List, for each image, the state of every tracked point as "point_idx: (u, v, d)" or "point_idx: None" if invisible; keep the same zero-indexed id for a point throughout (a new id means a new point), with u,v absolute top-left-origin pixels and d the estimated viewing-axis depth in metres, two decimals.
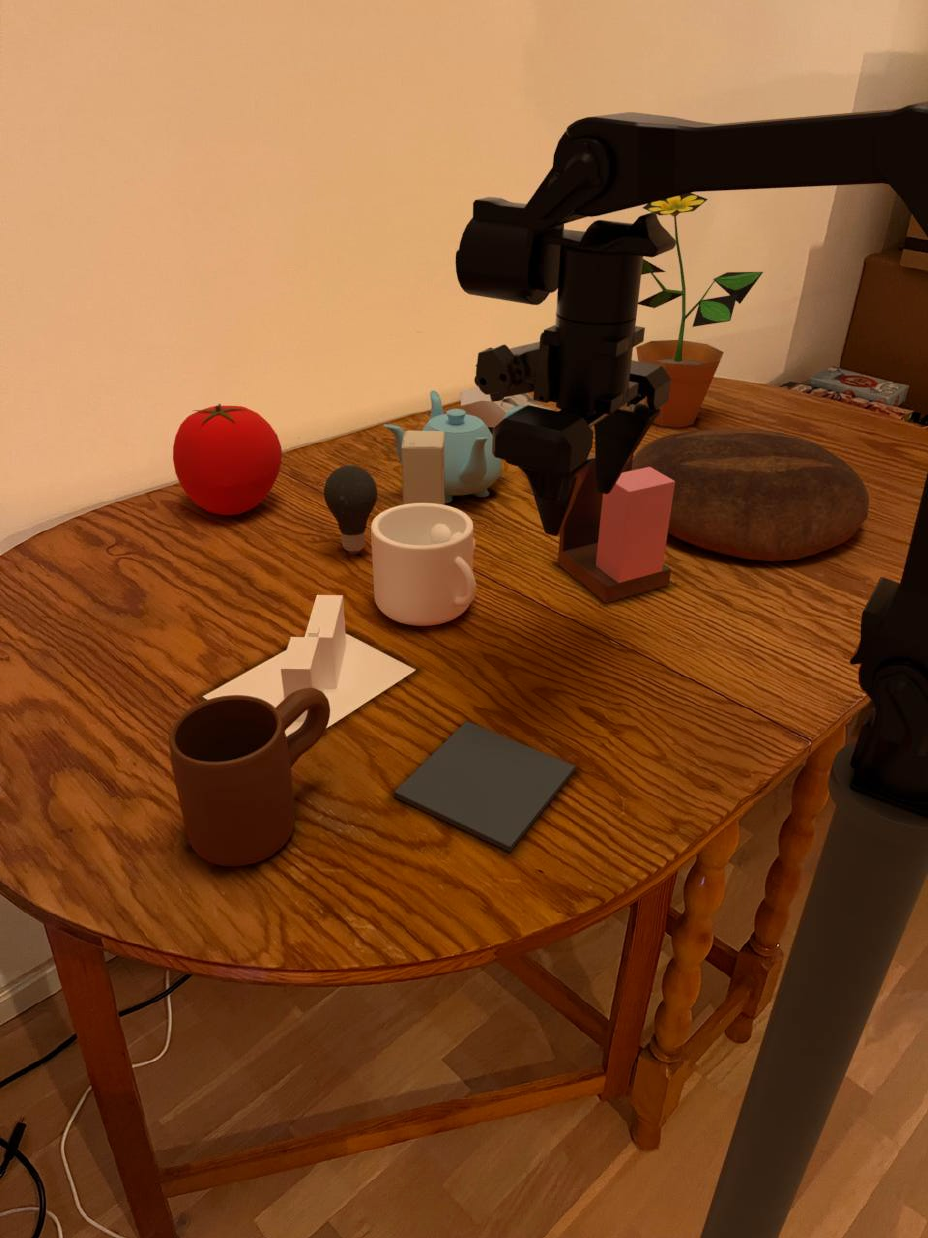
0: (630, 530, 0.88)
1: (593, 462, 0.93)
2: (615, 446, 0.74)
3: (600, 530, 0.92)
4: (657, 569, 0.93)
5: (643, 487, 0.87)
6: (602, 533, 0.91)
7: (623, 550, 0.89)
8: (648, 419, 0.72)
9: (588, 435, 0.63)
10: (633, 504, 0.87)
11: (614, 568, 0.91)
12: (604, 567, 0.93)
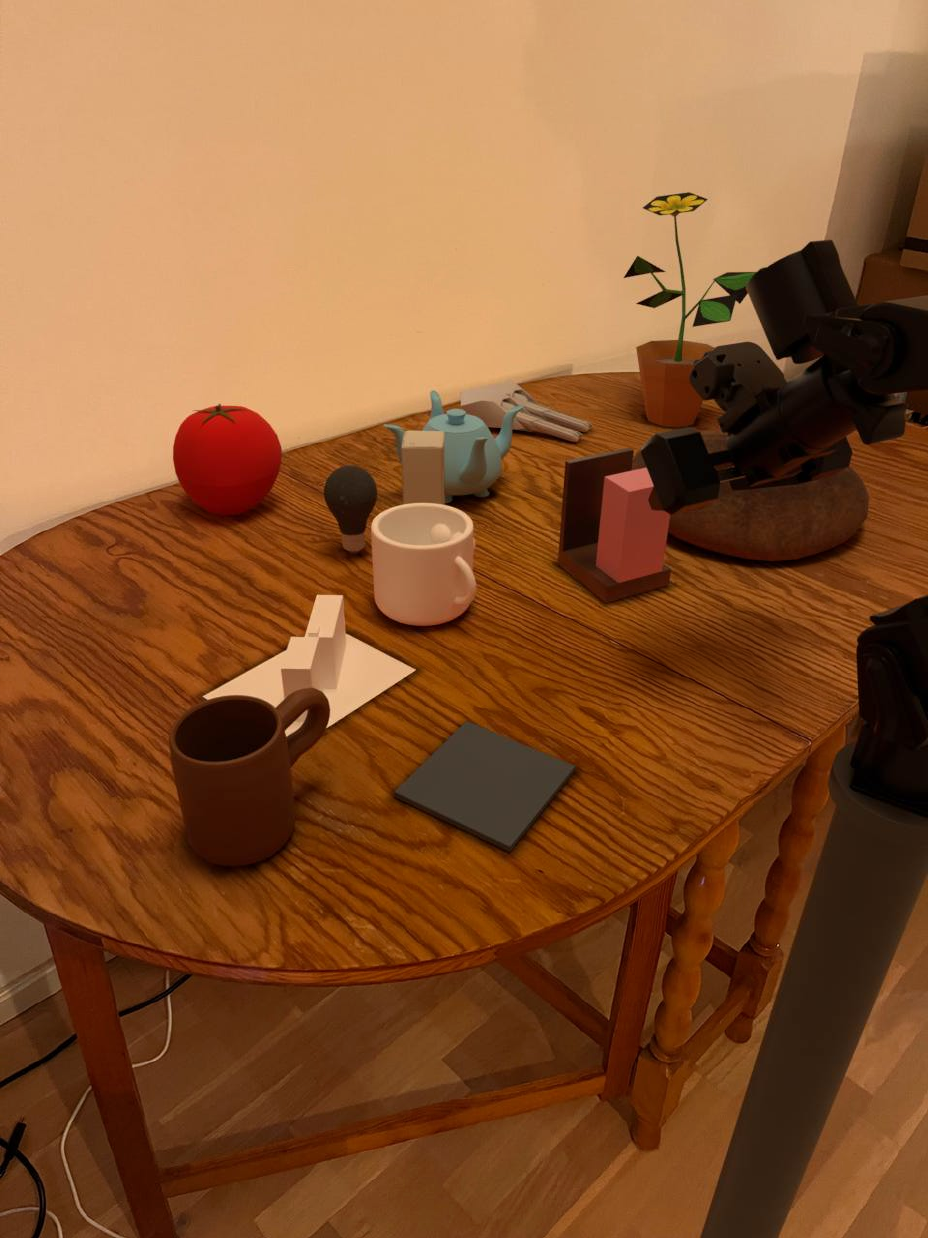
0: (630, 530, 0.88)
1: (593, 462, 0.93)
2: None
3: (600, 530, 0.92)
4: (657, 569, 0.93)
5: (643, 487, 0.87)
6: (602, 533, 0.91)
7: (623, 550, 0.89)
8: (798, 483, 0.77)
9: (710, 499, 0.71)
10: (633, 504, 0.87)
11: (614, 568, 0.91)
12: (604, 567, 0.93)
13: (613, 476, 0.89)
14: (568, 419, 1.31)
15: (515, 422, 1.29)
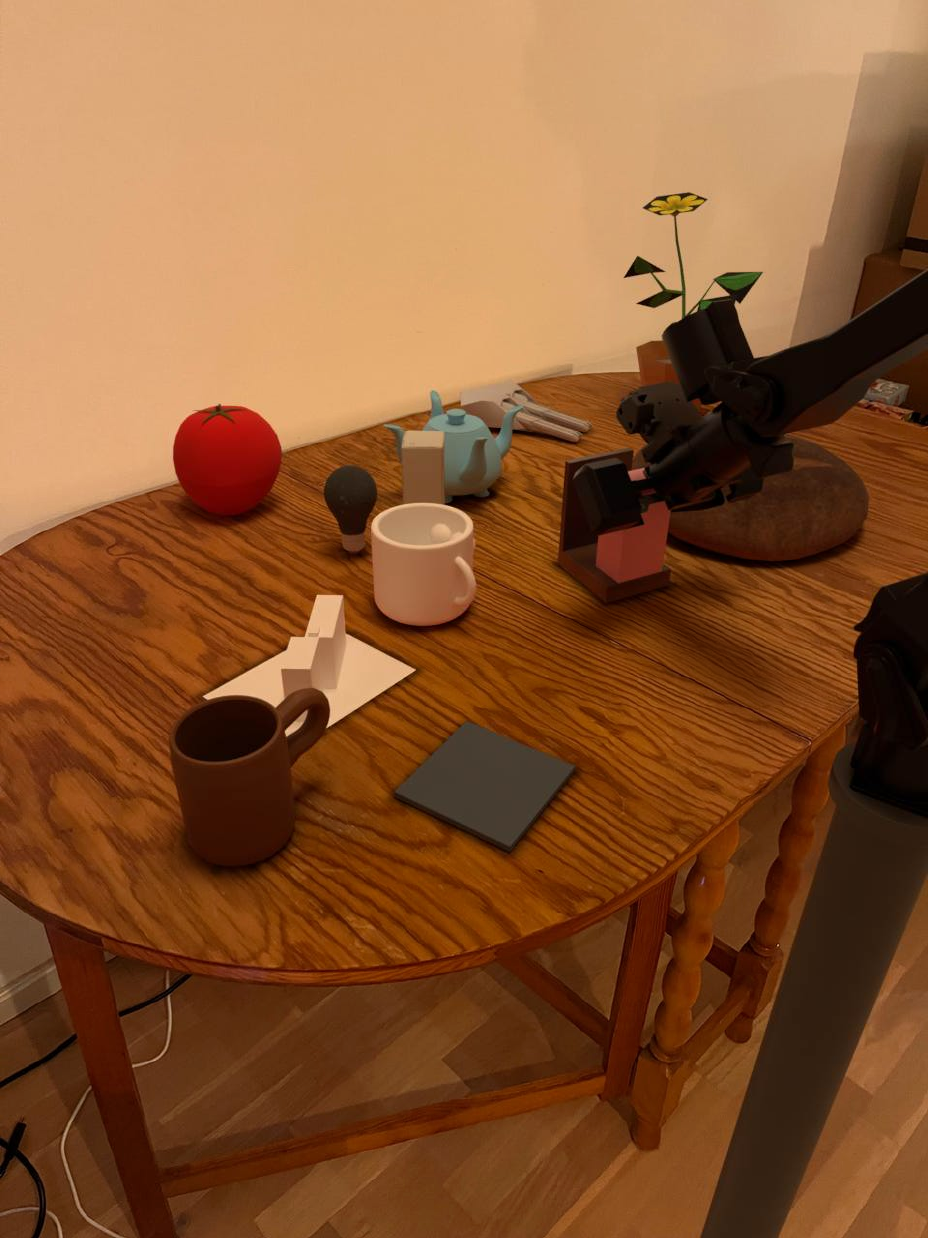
0: (630, 530, 0.88)
1: None
2: None
3: None
4: (657, 569, 0.93)
5: None
6: None
7: (623, 550, 0.89)
8: (702, 509, 0.86)
9: (633, 522, 0.81)
10: None
11: (613, 568, 0.91)
12: (604, 567, 0.93)
13: None
14: (568, 419, 1.31)
15: (515, 422, 1.29)
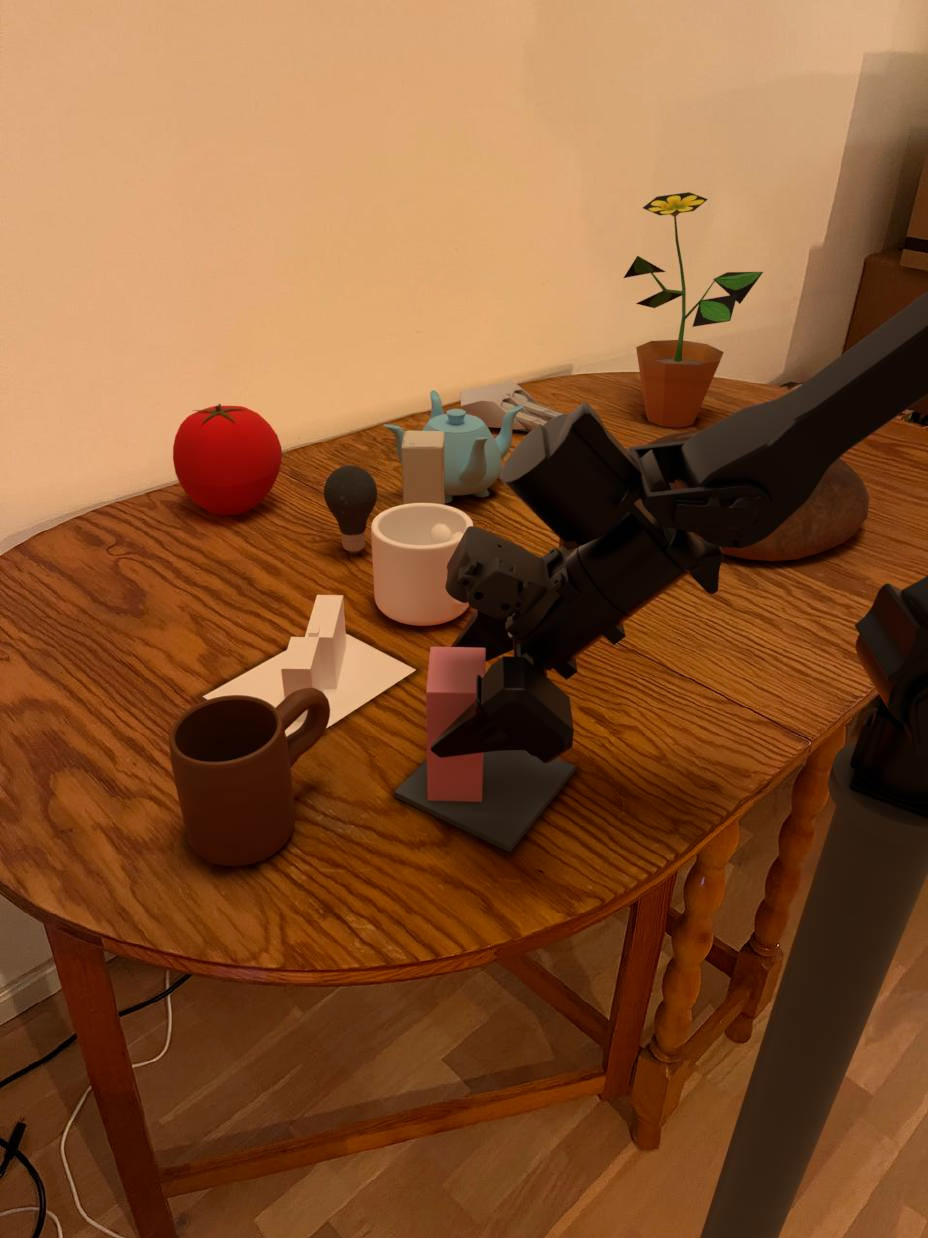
0: None
1: None
2: (485, 645, 0.68)
3: (430, 757, 0.65)
4: None
5: None
6: (435, 759, 0.65)
7: None
8: None
9: None
10: None
11: (469, 789, 0.66)
12: (447, 796, 0.67)
13: (433, 685, 0.62)
14: None
15: (515, 422, 1.29)
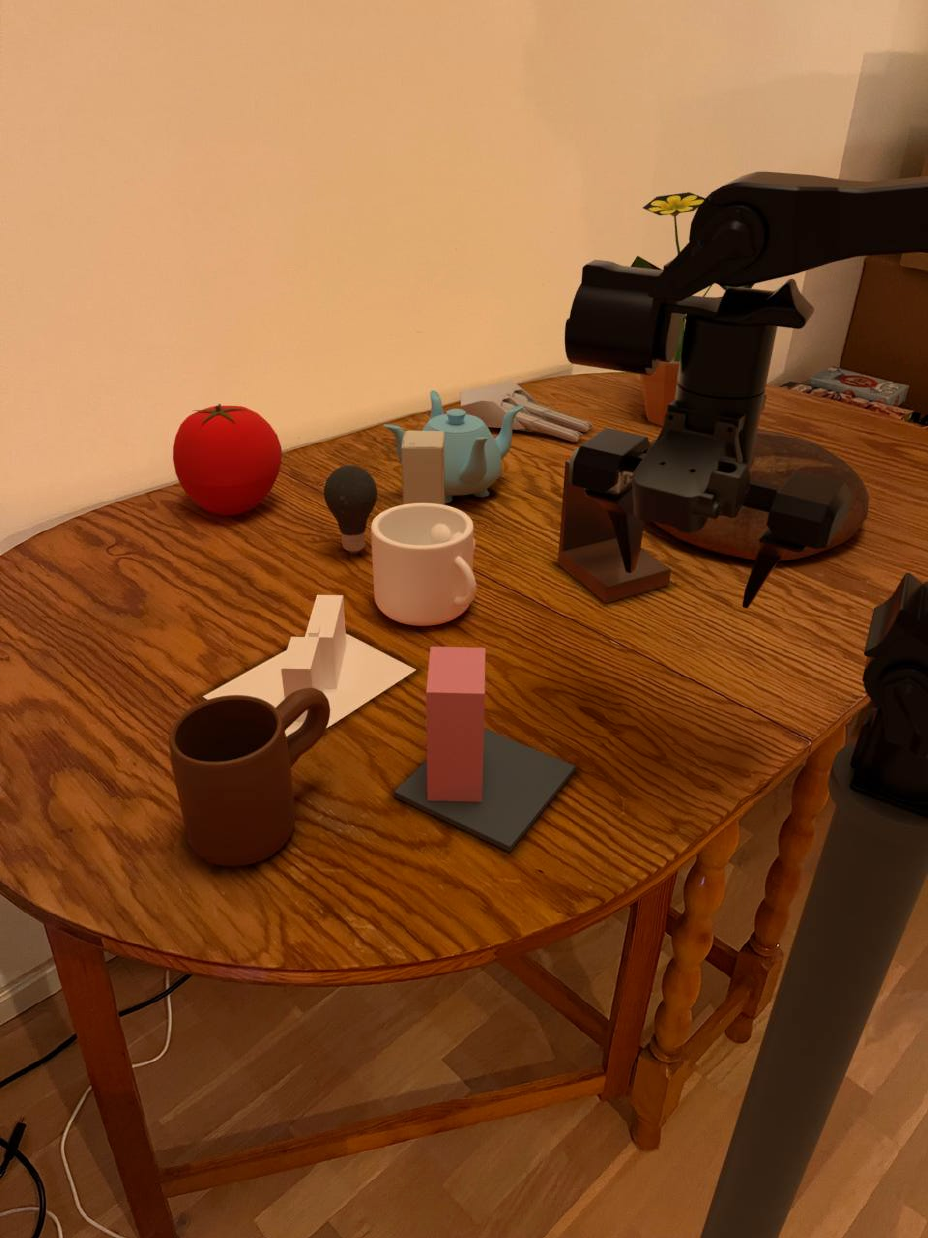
0: None
1: None
2: (638, 519, 0.69)
3: (430, 757, 0.65)
4: None
5: (484, 677, 0.63)
6: (435, 759, 0.65)
7: None
8: None
9: None
10: None
11: (469, 789, 0.66)
12: (447, 796, 0.67)
13: (433, 685, 0.62)
14: (568, 419, 1.31)
15: (515, 422, 1.29)
